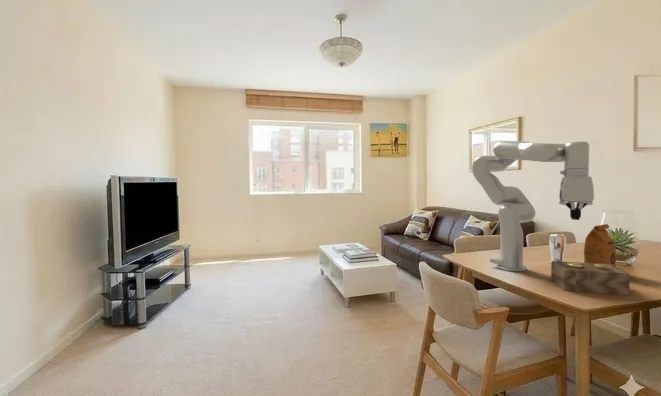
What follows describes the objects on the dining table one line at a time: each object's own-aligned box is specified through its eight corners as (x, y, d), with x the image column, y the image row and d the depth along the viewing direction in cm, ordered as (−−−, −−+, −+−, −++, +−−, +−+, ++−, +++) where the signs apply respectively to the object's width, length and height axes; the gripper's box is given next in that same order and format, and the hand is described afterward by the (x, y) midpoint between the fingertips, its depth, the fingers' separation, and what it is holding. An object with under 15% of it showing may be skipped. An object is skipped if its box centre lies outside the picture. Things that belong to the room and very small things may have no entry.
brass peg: (569, 284, 122) (569, 265, 122) (564, 280, 127) (564, 262, 127) (585, 285, 120) (585, 266, 120) (579, 281, 125) (580, 263, 125)
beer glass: (565, 263, 156) (565, 234, 156) (566, 267, 150) (567, 236, 150) (548, 262, 160) (548, 233, 159) (549, 265, 154) (549, 235, 153)
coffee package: (621, 273, 138) (622, 224, 137) (605, 277, 133) (606, 227, 132) (594, 268, 148) (595, 222, 147) (579, 271, 143) (580, 224, 142)
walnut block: (563, 290, 119) (564, 267, 119) (551, 279, 132) (551, 259, 132) (628, 295, 113) (629, 271, 112) (608, 283, 126) (609, 262, 125)
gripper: (557, 173, 121) (556, 220, 122) (604, 172, 116) (603, 221, 117) (550, 174, 128) (550, 218, 129) (594, 173, 123) (593, 218, 124)
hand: (575, 219), depth 123 cm, fingers closed
